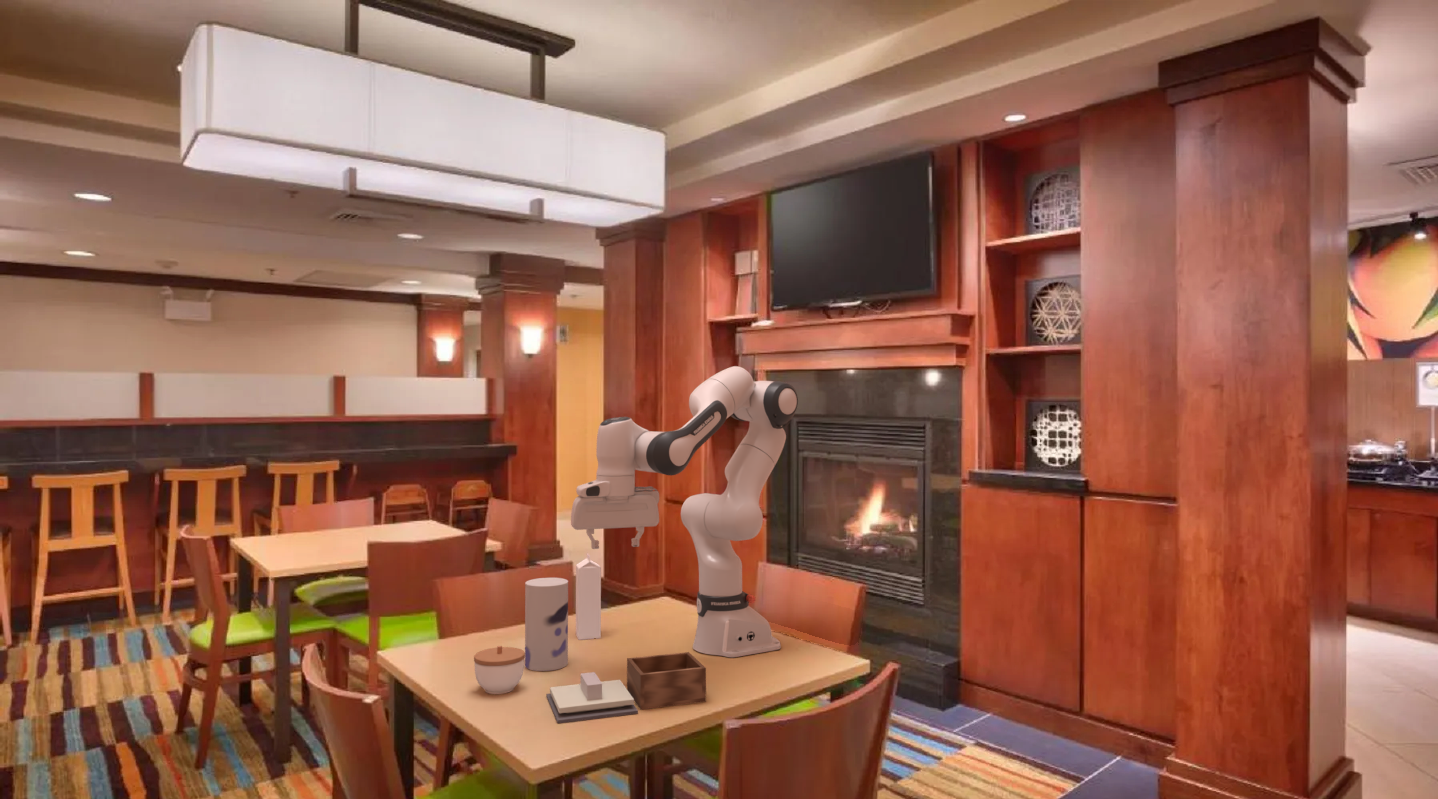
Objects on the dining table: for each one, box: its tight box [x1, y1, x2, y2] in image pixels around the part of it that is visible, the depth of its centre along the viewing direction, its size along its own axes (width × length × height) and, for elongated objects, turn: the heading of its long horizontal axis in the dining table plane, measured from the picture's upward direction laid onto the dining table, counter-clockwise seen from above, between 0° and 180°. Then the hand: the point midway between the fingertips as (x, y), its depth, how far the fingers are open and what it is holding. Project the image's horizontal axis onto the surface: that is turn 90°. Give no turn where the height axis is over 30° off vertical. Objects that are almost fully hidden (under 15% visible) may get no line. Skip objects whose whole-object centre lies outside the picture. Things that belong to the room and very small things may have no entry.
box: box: [626, 651, 707, 710], centre depth 176 cm, size 14×12×7 cm
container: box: [524, 577, 569, 672], centre depth 198 cm, size 10×10×20 cm
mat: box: [546, 692, 639, 724], centre depth 171 cm, size 16×16×1 cm
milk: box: [575, 552, 602, 641], centre depth 223 cm, size 6×6×22 cm
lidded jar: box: [473, 645, 525, 695], centre depth 180 cm, size 11×11×9 cm
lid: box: [549, 671, 635, 713], centre depth 171 cm, size 15×13×5 cm
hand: (615, 547), depth 191 cm, fingers open, 8 cm apart
